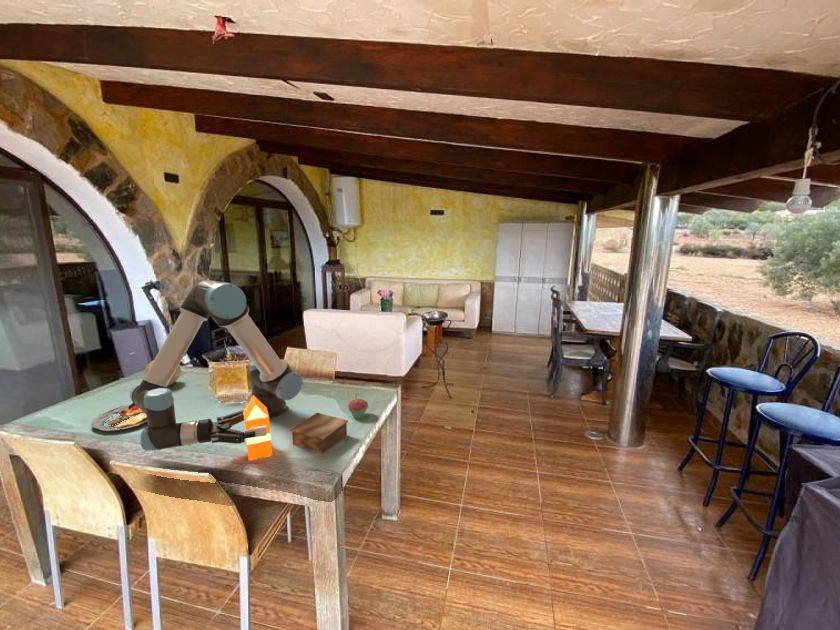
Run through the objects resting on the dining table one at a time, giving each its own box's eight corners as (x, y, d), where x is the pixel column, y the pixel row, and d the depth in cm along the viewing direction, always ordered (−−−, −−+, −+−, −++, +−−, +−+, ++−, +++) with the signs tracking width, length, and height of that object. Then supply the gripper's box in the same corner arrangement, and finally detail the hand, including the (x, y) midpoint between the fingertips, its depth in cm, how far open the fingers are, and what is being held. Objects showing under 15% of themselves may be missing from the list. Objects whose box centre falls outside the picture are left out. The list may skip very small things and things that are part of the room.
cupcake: (364, 421, 158) (363, 394, 156) (344, 419, 160) (343, 392, 158) (370, 412, 167) (370, 386, 164) (352, 410, 168) (351, 384, 166)
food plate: (142, 401, 174) (140, 394, 174) (180, 410, 167) (178, 403, 166) (78, 428, 152) (77, 420, 151) (119, 440, 144) (117, 431, 143)
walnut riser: (290, 444, 141) (289, 429, 139) (317, 426, 154) (317, 412, 153) (323, 454, 134) (322, 439, 133) (348, 434, 148) (348, 420, 146)
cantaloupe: (186, 385, 194) (182, 356, 191) (152, 393, 183) (148, 363, 180) (176, 377, 204) (172, 350, 200) (143, 385, 193) (139, 357, 190)
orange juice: (269, 443, 141) (265, 392, 137) (272, 455, 134) (268, 402, 130) (246, 448, 138) (241, 396, 134) (248, 461, 130) (242, 406, 126)
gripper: (205, 424, 140) (268, 416, 147) (191, 462, 117) (266, 450, 124) (203, 405, 138) (266, 397, 145) (188, 440, 115) (264, 428, 122)
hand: (266, 421), depth 135 cm, fingers open, 13 cm apart
